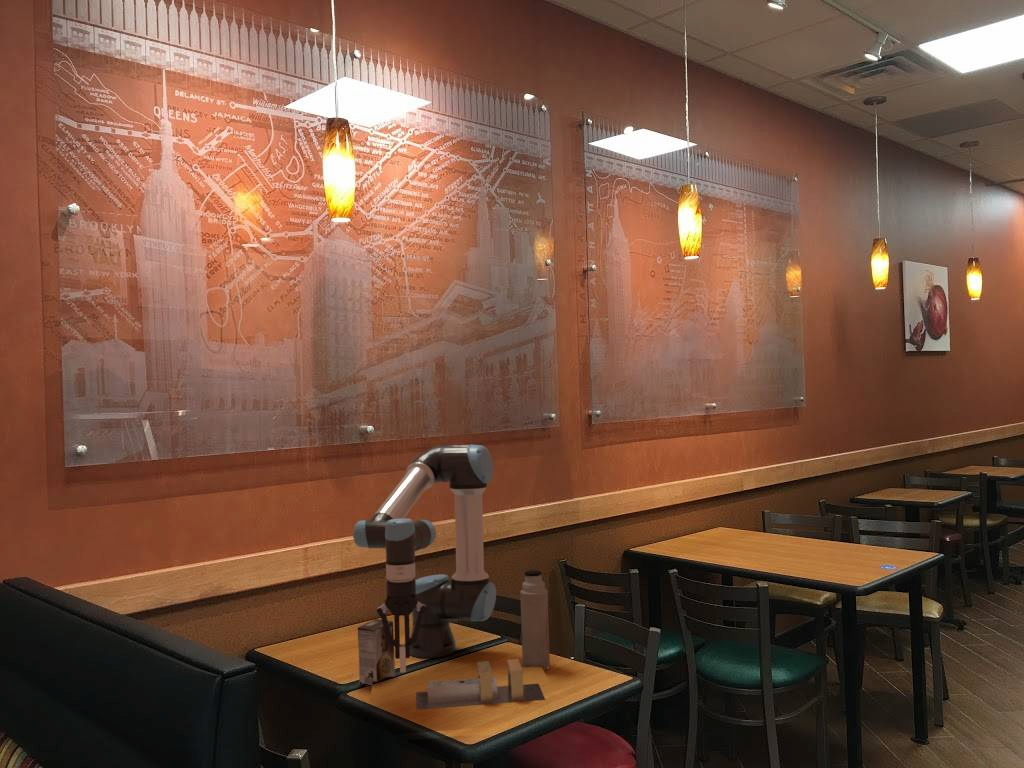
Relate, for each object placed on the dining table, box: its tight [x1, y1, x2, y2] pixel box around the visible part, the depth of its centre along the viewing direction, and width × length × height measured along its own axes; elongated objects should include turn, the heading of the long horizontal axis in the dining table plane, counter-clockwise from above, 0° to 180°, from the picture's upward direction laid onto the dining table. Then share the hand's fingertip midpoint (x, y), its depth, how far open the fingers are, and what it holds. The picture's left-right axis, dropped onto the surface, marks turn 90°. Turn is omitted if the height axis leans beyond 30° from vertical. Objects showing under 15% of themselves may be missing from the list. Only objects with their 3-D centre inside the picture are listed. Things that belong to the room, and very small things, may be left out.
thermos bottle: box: [519, 569, 551, 671], centre depth 245 cm, size 8×8×28 cm
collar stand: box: [415, 658, 546, 711], centre depth 219 cm, size 12×33×9 cm, turn 97°
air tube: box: [426, 676, 498, 703], centre depth 218 cm, size 4×18×4 cm, turn 97°
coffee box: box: [357, 618, 396, 686], centre depth 237 cm, size 9×6×16 cm
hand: (403, 670), depth 216 cm, fingers closed
